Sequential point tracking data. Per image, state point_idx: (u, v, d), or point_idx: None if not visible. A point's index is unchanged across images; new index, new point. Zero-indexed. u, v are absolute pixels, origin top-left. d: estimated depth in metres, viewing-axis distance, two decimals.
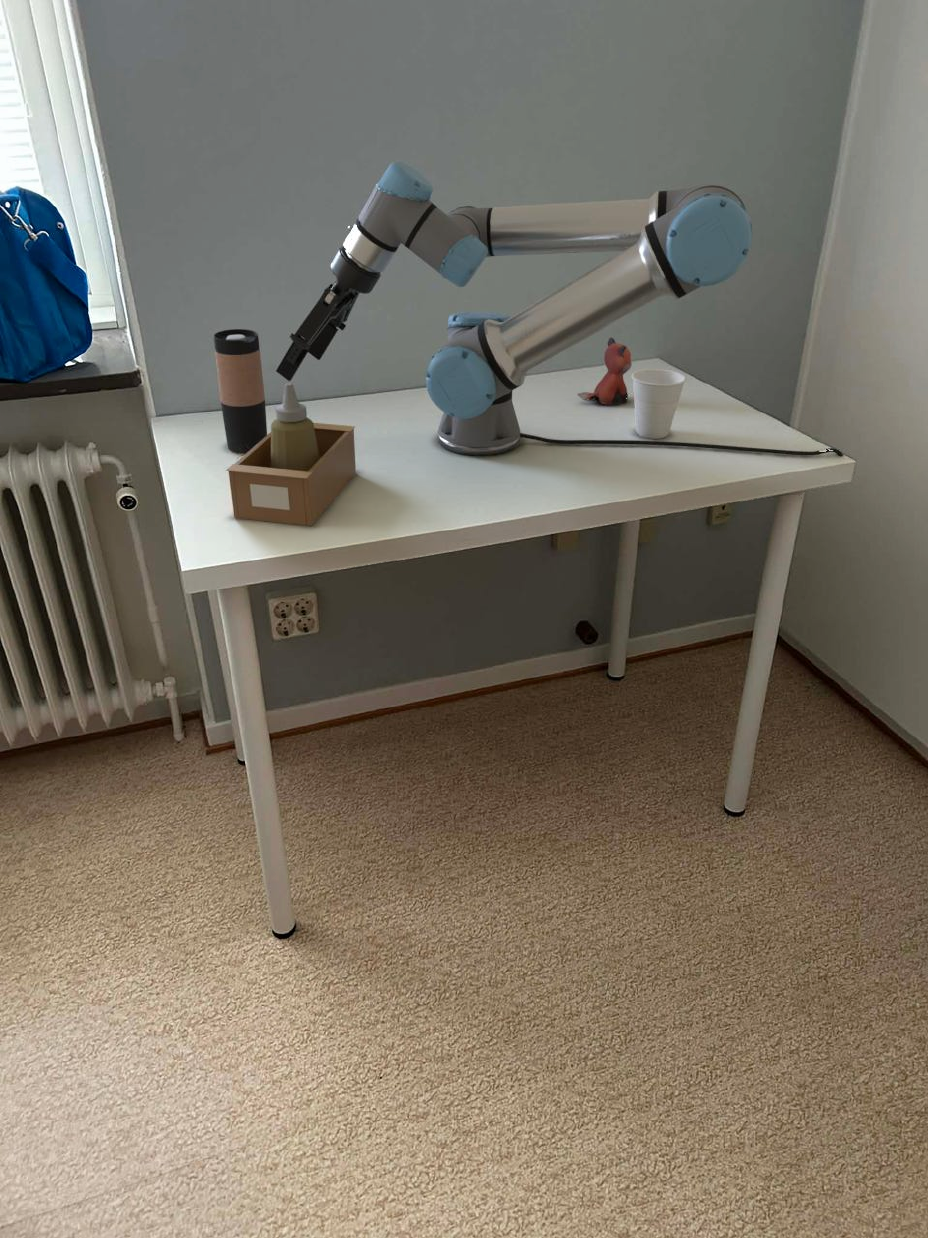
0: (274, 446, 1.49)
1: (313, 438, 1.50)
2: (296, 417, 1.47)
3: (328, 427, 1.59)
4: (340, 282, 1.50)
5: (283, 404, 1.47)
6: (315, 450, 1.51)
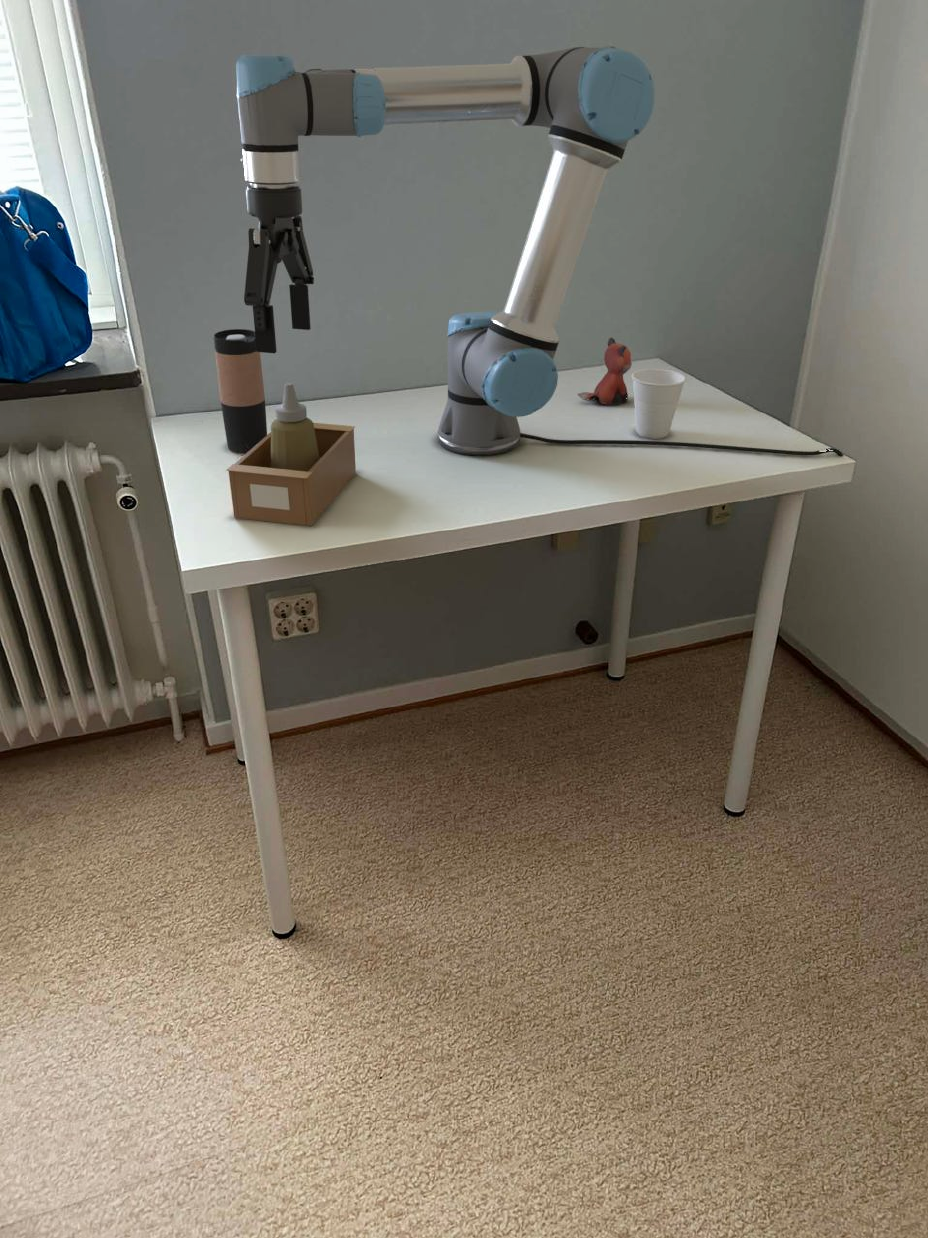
0: (274, 447, 1.49)
1: (313, 438, 1.50)
2: (296, 417, 1.47)
3: (328, 427, 1.59)
4: (262, 218, 1.31)
5: (283, 404, 1.47)
6: (315, 450, 1.51)
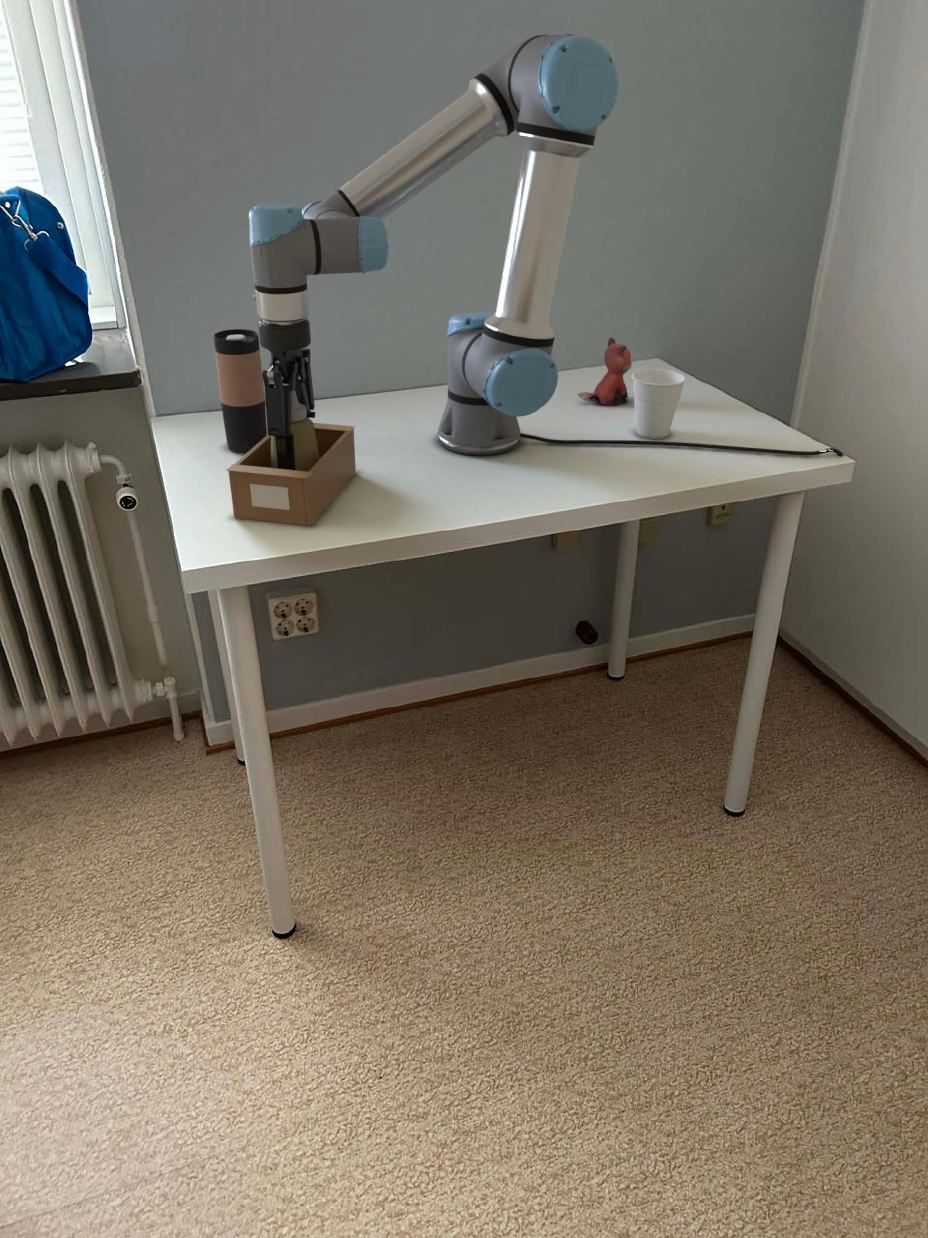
0: (274, 446, 1.49)
1: (313, 438, 1.50)
2: (296, 417, 1.47)
3: (328, 427, 1.59)
4: (274, 351, 1.40)
5: None
6: (315, 450, 1.51)
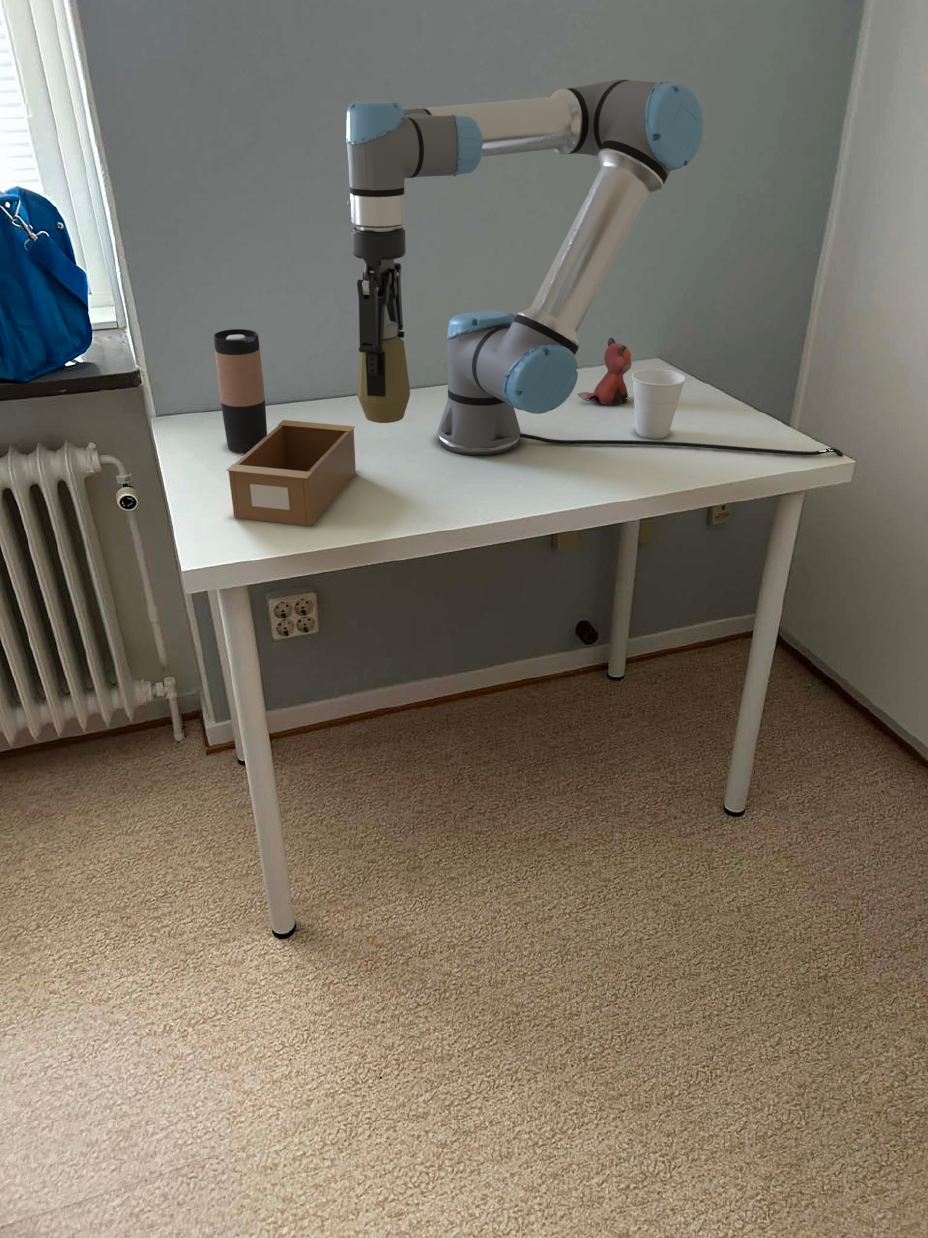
0: (363, 366, 1.42)
1: (404, 357, 1.43)
2: (388, 333, 1.40)
3: (328, 427, 1.59)
4: (368, 260, 1.33)
5: None
6: (405, 370, 1.44)
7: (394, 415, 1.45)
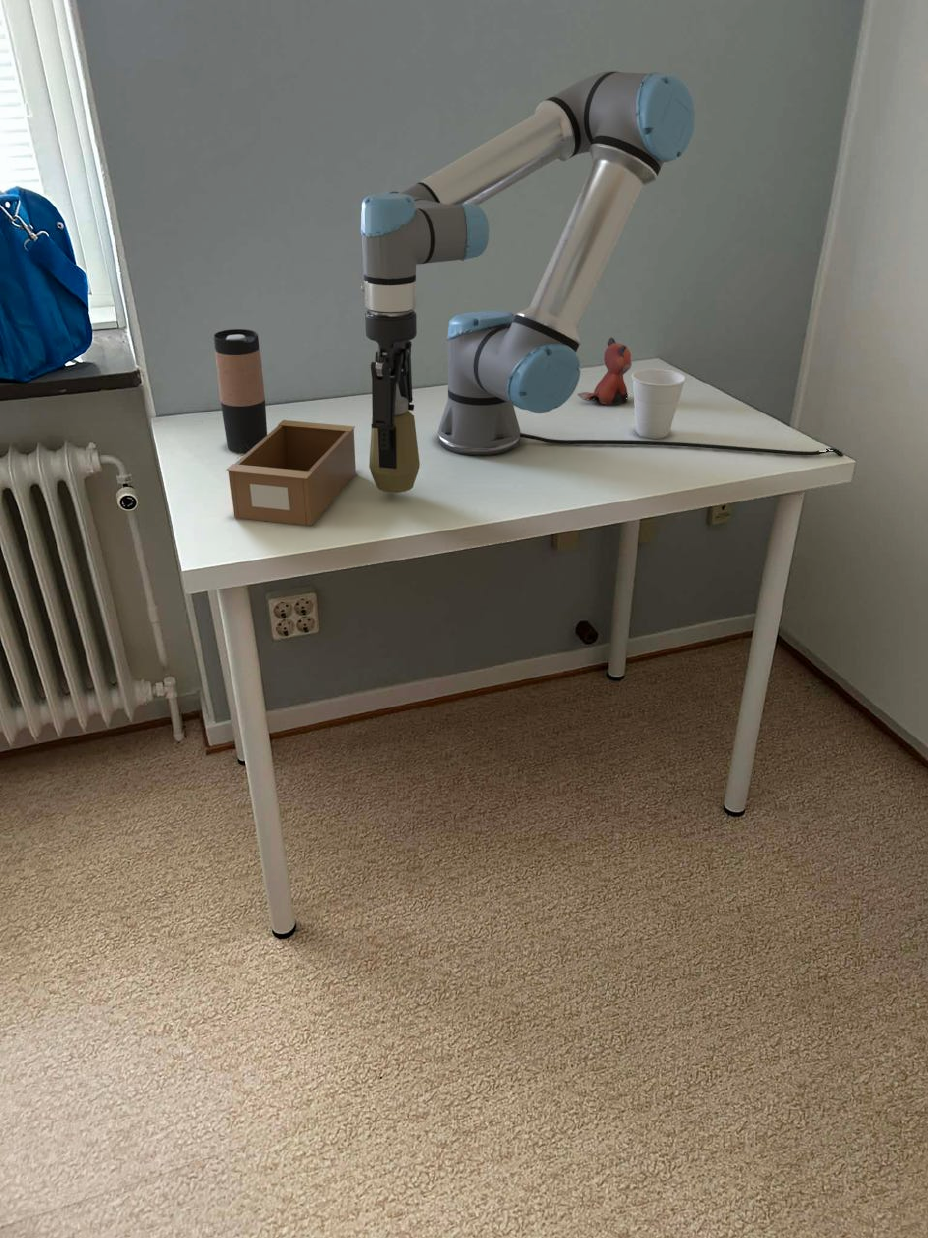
0: (375, 440, 1.48)
1: (414, 431, 1.49)
2: (399, 410, 1.46)
3: (328, 427, 1.59)
4: (381, 343, 1.39)
5: None
6: (415, 443, 1.50)
7: (404, 485, 1.51)
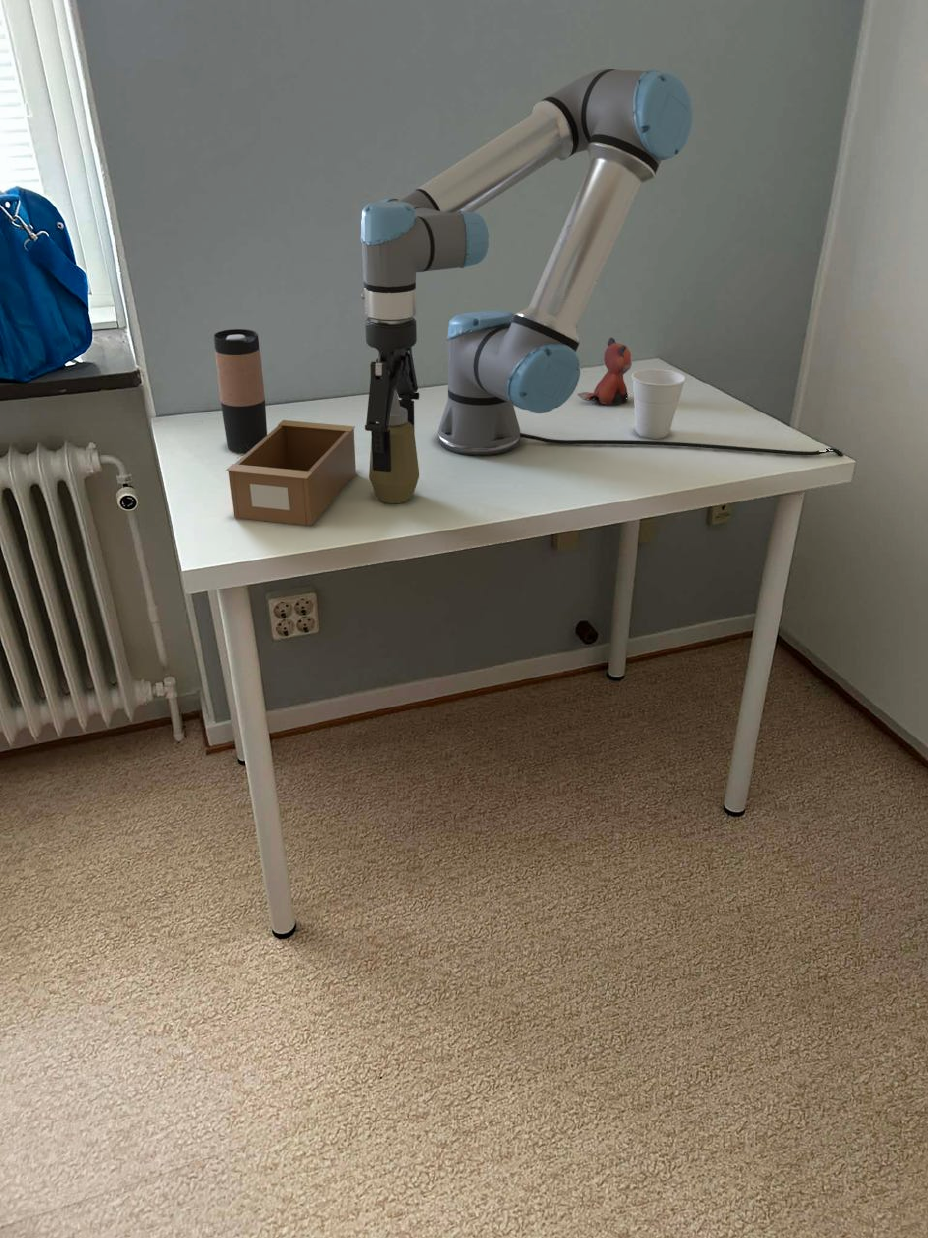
0: None
1: (413, 442, 1.49)
2: (398, 421, 1.46)
3: (328, 427, 1.59)
4: (382, 350, 1.39)
5: None
6: (415, 454, 1.50)
7: (404, 495, 1.52)
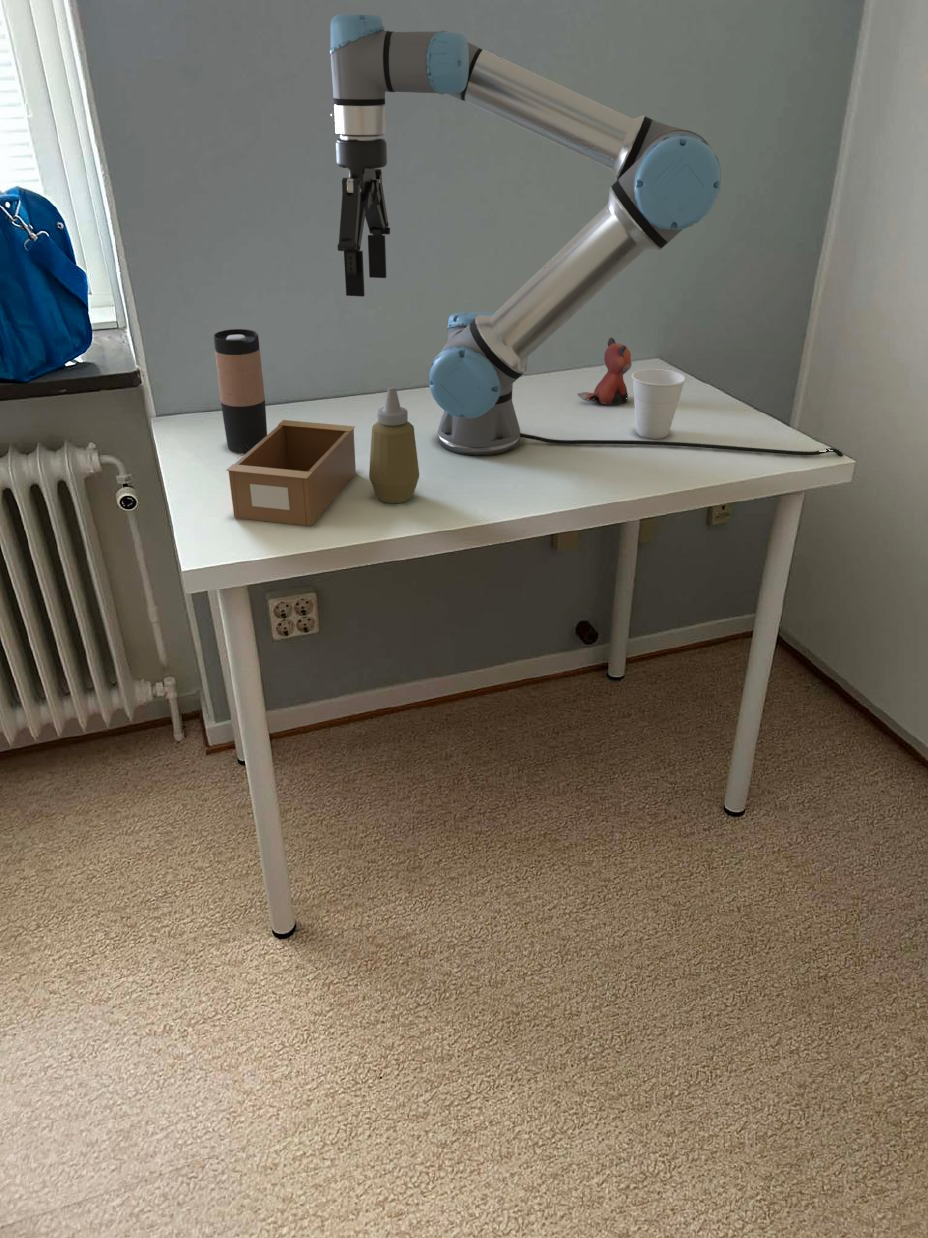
0: (374, 450, 1.49)
1: (413, 442, 1.49)
2: (398, 421, 1.46)
3: (328, 427, 1.59)
4: (353, 168, 1.41)
5: (385, 408, 1.47)
6: (415, 454, 1.50)
7: (404, 495, 1.52)
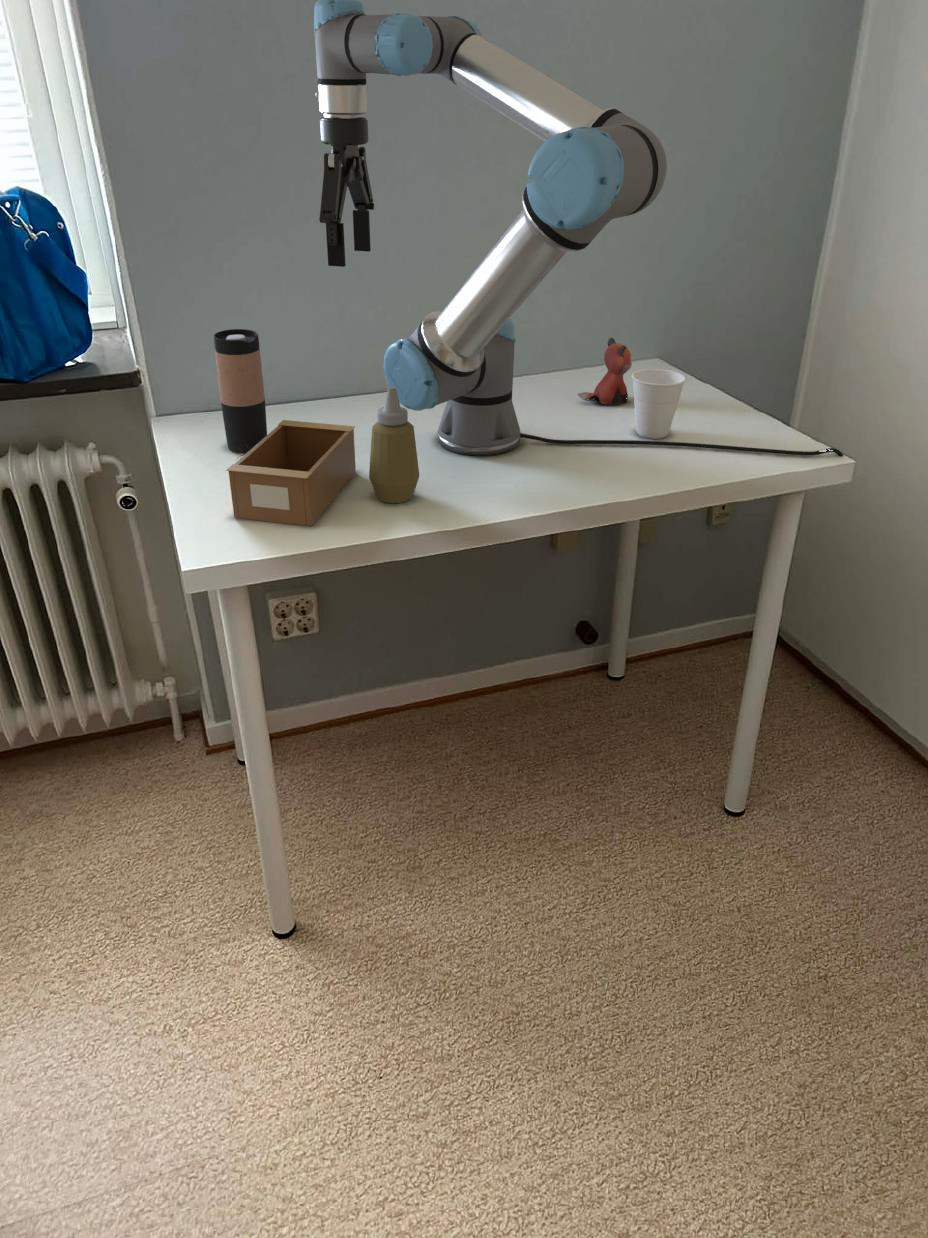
0: (374, 450, 1.49)
1: (413, 442, 1.49)
2: (398, 421, 1.46)
3: (328, 427, 1.59)
4: (335, 145, 1.49)
5: (385, 408, 1.47)
6: (415, 454, 1.50)
7: (404, 495, 1.52)
